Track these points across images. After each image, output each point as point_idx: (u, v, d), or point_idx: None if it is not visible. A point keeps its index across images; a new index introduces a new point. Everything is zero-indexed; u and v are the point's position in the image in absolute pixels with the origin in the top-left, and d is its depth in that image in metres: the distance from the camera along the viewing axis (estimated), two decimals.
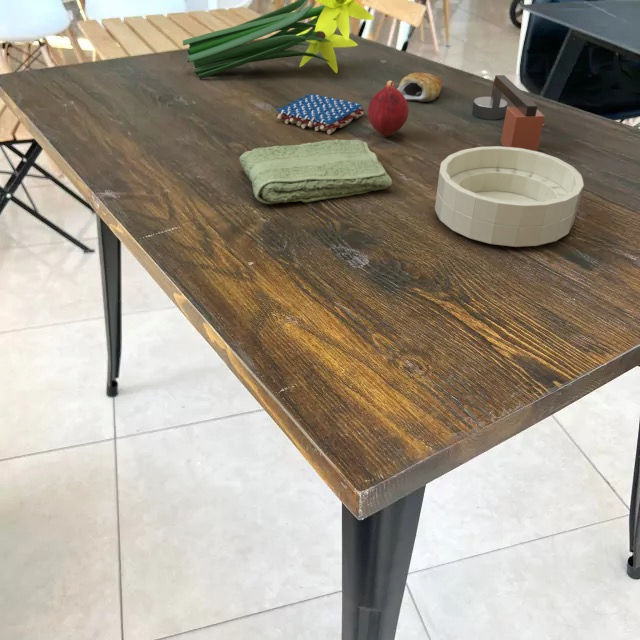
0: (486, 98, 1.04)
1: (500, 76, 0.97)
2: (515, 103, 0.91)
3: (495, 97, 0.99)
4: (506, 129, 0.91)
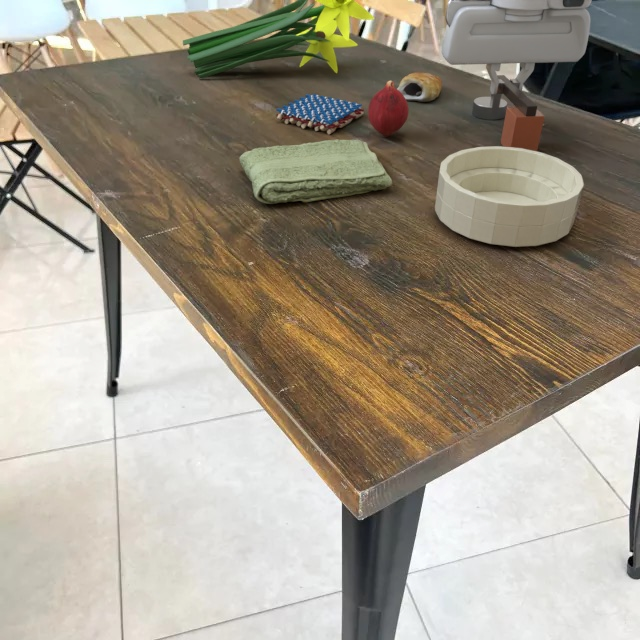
0: (486, 98, 1.04)
1: (500, 76, 0.97)
2: (515, 103, 0.91)
3: (495, 97, 0.99)
4: (506, 129, 0.91)
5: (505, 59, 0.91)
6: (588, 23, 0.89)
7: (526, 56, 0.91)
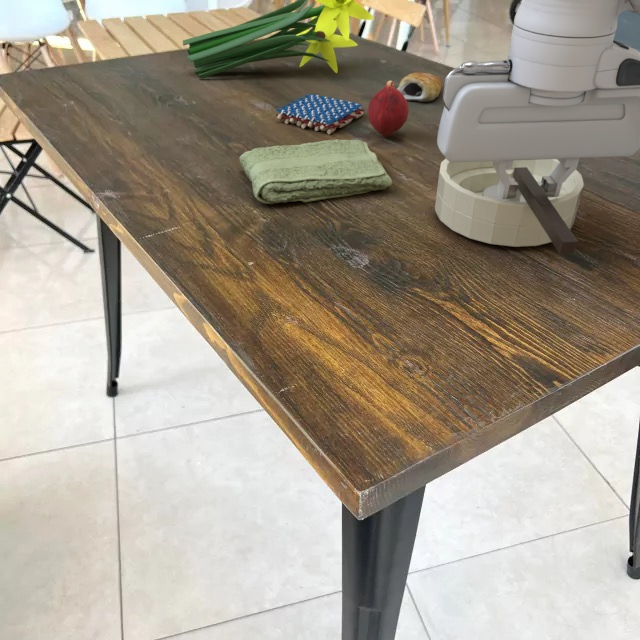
0: None
1: (521, 170, 0.69)
2: (544, 225, 0.63)
3: None
4: None
5: (528, 155, 0.63)
6: None
7: (559, 150, 0.63)
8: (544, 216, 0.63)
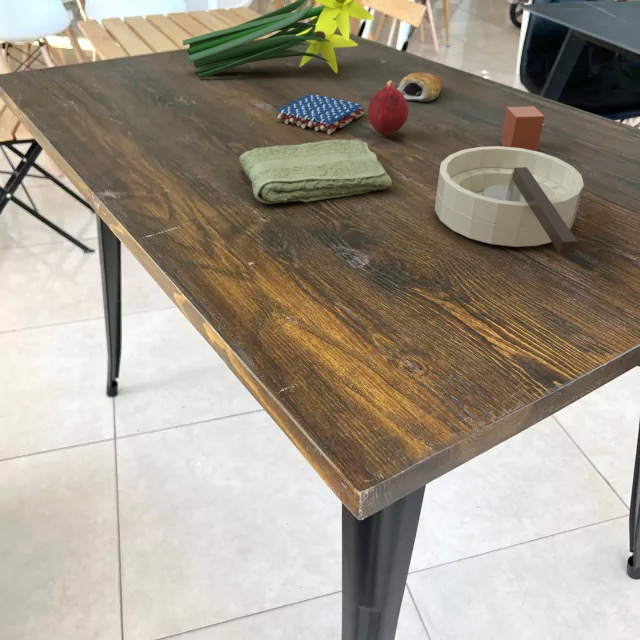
0: (500, 188, 0.75)
1: (521, 170, 0.69)
2: (544, 225, 0.63)
3: (513, 196, 0.71)
4: (506, 129, 0.91)
5: None
6: None
7: None
8: (544, 216, 0.63)
